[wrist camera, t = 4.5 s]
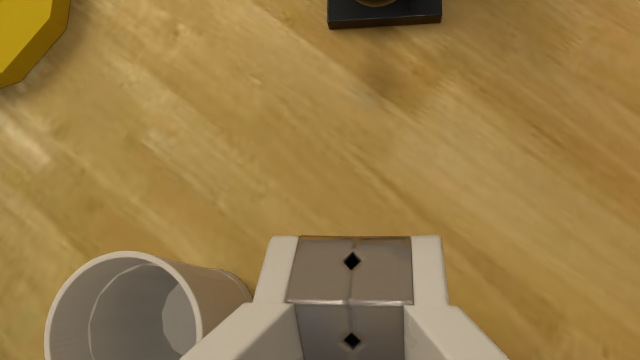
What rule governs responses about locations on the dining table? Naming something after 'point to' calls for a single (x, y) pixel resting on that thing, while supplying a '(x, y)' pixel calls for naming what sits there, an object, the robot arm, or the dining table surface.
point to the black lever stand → (382, 13)
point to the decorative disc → (28, 34)
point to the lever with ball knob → (375, 2)
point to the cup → (138, 308)
